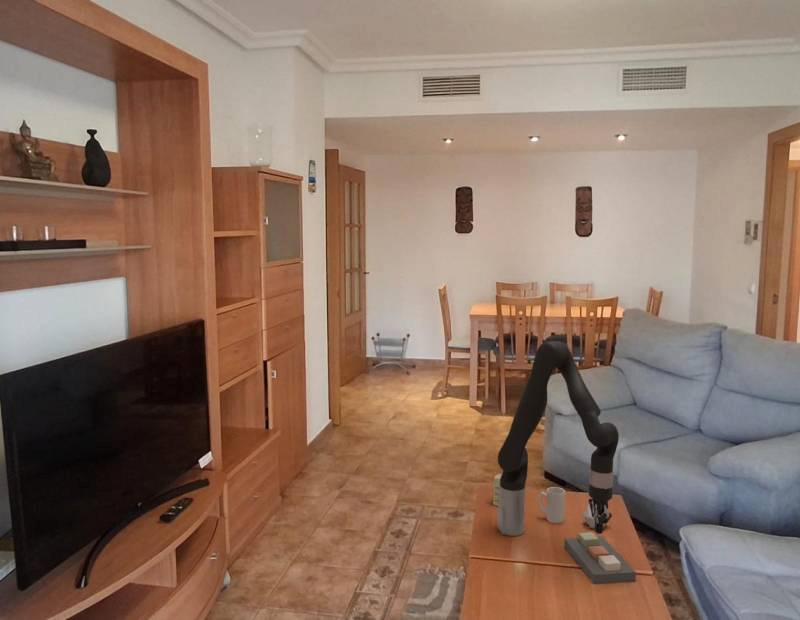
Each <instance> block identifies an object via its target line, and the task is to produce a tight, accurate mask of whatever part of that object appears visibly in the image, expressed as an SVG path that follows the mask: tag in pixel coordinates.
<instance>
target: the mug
mask: <svg viewBox="0 0 800 620" xmlns="http://www.w3.org/2000/svg"><path fill="white" fill-rule="evenodd" d="M544 497H545V498H546V508H544V507H543V505H542V499H543V498H544ZM565 500H566V490H565V489H564V488H562V487H557V486H552V487H548V488H547V489H546V492H544V491H541V492H540V495H539V496H538V500H537V503H538V507H539V510H540V512H541V513H544V514H546V520H547V522H549V523H552V524H562V523H563V522H564V519H565V518H564V517H565V516H564V515H565Z"/></svg>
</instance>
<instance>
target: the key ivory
mask: <svg viewBox="0 0 800 620" xmlns="http://www.w3.org/2000/svg"><path fill="white" fill-rule="evenodd" d="M598 565H599V566H600V567H601V568H602V569H603V571H604V572H614V571H620V566H621V563H620V562H619V561H618V560H617V558H616V557H615V556H614V555H606V556H599V563H598Z"/></svg>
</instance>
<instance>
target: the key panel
mask: <svg viewBox="0 0 800 620" xmlns="http://www.w3.org/2000/svg"><path fill="white" fill-rule="evenodd" d="M596 537H597V538H598V546H603V547H604V548H605V549H606V550H607V552H608V553H609V555H614V556H615V557H616V558H617V560H618V561H619V562H620V563H621V566H620V571H614V572H604V571H603V569H602V568H601V567H600V566H599V565H598V563H599V559H593V558H592V556H591V555H590V554H589V553H588V547H583V546H582V545H581V544H580V542H579V541H578V539H579V537H567V538H566V537H565V538H564V541H563V542H564V543H563V544H564V546H563V547H564V549H566V551H567V552H568V554H570V556H571V557H572V558H573V560H574V561H575V562H576V563H577V565H578V566H579V567H580V568H581V570H582V571H583V572H584V573H585V575H586V576H587V578H589V580H590V581H591V583H593V584H594V585H596V584H611V583H612V584H613V583H623V582H624V583H625V582H626V583H627V582H636V580H637V579H636V577H637V571H636V570H635V569H634V568H633V567H632V566H631V565H630V564H629V563H628V562H627V561H626V560H625V559H624V557H623V556H621V554H620V553H619V552H618V551H617V550H616V549H615V548H614V547H613V546H612V545H611V544H610V543H609V542H608V541H607V540H606V539H605V538H604V536H603V535H602V536H601V535H600V536H596Z"/></svg>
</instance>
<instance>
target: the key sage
mask: <svg viewBox="0 0 800 620" xmlns="http://www.w3.org/2000/svg"><path fill="white" fill-rule="evenodd" d="M597 537H598V536H596V535H595V533H593V532H591V531H589V532H588V531H587V532H578V538H579V539H578V541H579V542H580V544H581V545H582V546H583V547H592V546H598V538H597Z"/></svg>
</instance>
